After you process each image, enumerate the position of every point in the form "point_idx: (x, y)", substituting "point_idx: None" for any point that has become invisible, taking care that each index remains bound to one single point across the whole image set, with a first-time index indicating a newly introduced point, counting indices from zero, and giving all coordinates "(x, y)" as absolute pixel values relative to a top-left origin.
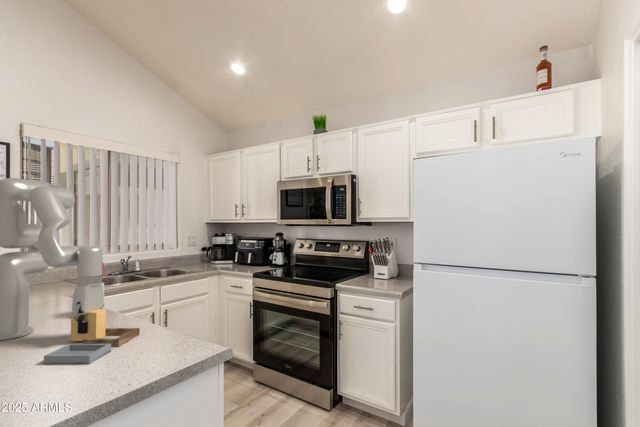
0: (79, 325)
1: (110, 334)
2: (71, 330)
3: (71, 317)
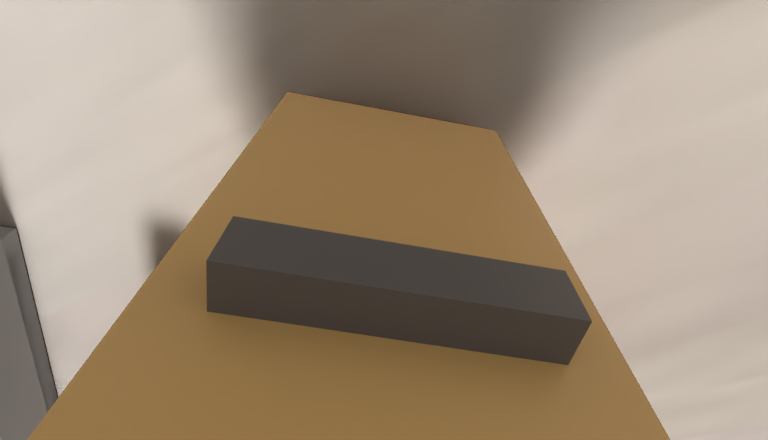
0: None
1: None
2: (241, 164)
3: (83, 377)
